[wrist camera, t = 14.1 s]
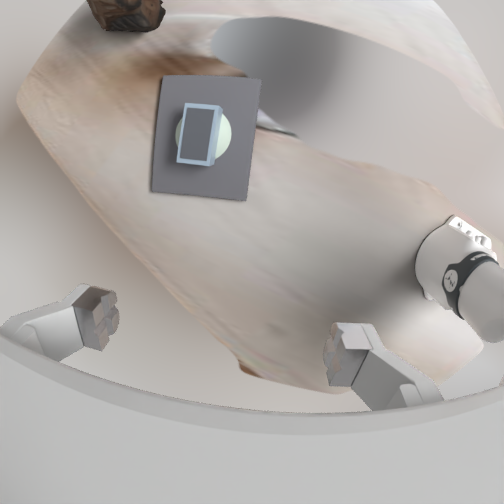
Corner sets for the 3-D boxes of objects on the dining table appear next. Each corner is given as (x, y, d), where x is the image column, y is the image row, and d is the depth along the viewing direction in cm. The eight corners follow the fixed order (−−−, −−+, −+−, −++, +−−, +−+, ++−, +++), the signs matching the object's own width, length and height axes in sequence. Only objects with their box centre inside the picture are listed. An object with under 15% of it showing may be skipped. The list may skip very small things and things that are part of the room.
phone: (223, 109, 39) (218, 105, 35) (214, 164, 42) (209, 166, 38) (191, 106, 38) (184, 102, 35) (183, 160, 42) (176, 162, 38)
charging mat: (261, 81, 38) (261, 79, 36) (246, 199, 45) (245, 201, 44) (165, 77, 38) (162, 75, 36) (154, 190, 45) (151, 191, 44)
